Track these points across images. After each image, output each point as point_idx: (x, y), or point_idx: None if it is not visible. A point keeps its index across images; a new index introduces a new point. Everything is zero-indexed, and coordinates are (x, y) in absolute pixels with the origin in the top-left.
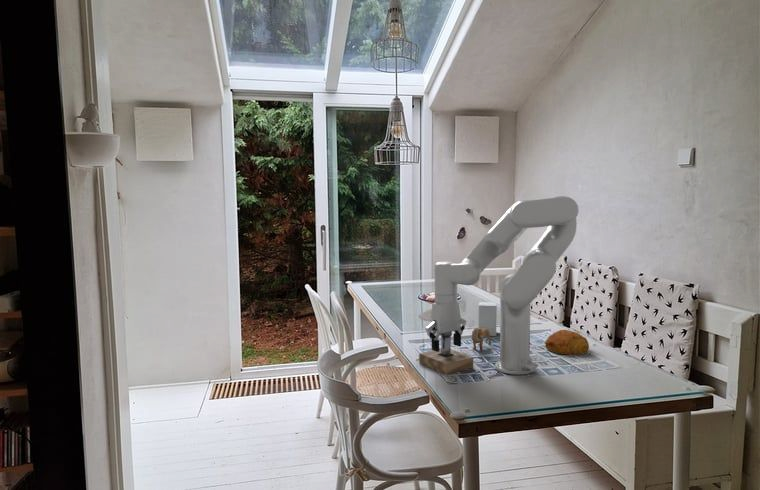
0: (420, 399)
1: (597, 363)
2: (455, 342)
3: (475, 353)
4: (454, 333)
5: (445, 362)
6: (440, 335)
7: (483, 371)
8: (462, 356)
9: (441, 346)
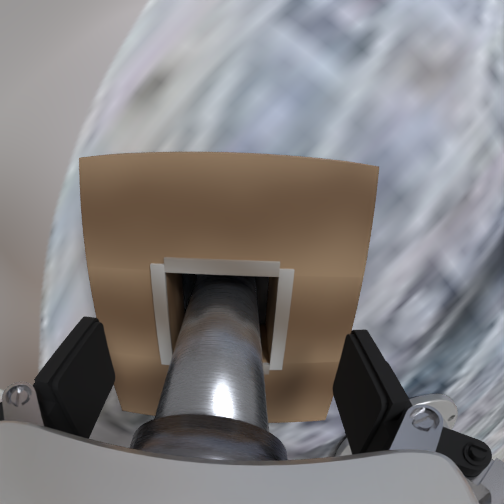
0: None
1: (499, 442)
2: (349, 368)
3: (487, 240)
4: (394, 409)
5: (131, 398)
6: (132, 440)
7: (301, 424)
8: (289, 393)
9: (173, 353)
